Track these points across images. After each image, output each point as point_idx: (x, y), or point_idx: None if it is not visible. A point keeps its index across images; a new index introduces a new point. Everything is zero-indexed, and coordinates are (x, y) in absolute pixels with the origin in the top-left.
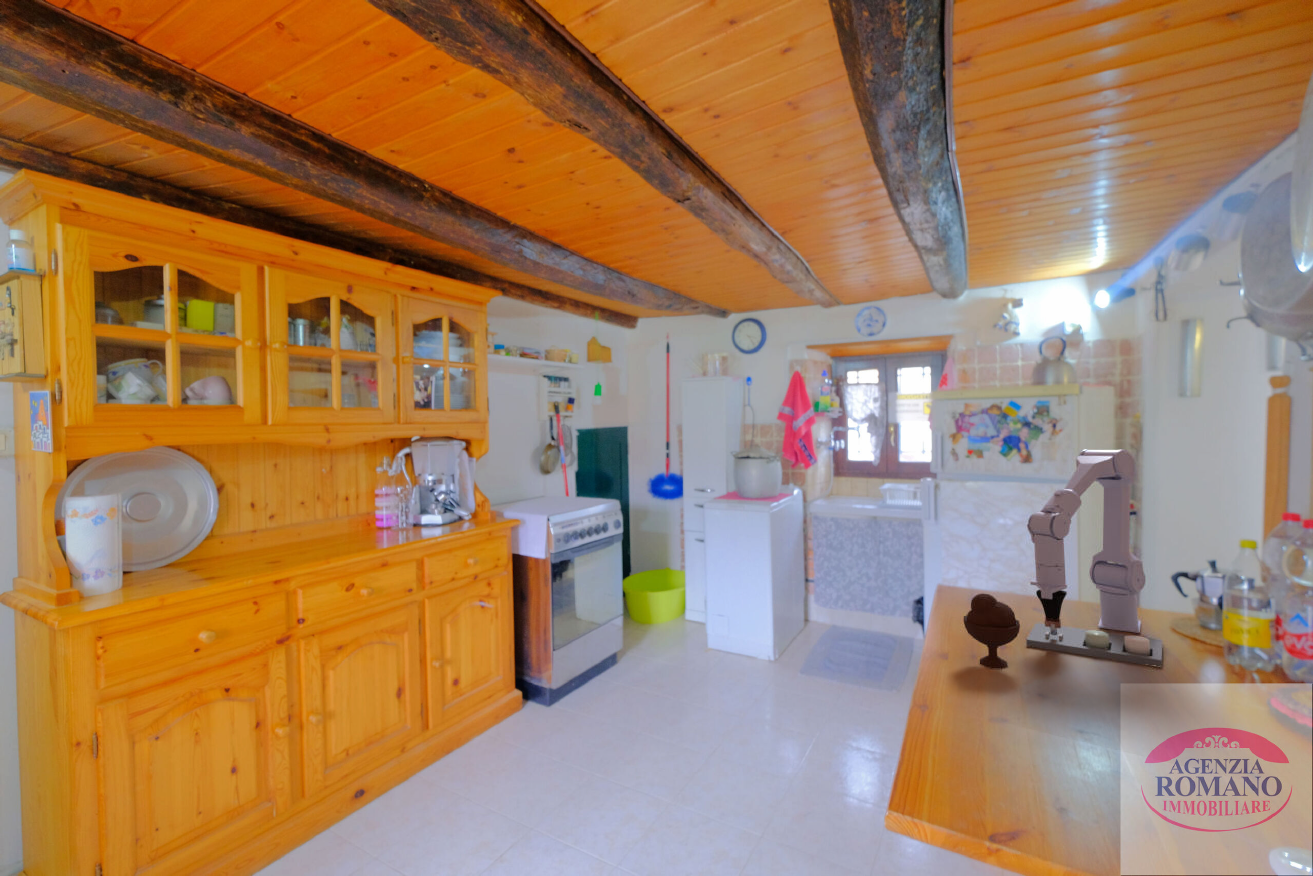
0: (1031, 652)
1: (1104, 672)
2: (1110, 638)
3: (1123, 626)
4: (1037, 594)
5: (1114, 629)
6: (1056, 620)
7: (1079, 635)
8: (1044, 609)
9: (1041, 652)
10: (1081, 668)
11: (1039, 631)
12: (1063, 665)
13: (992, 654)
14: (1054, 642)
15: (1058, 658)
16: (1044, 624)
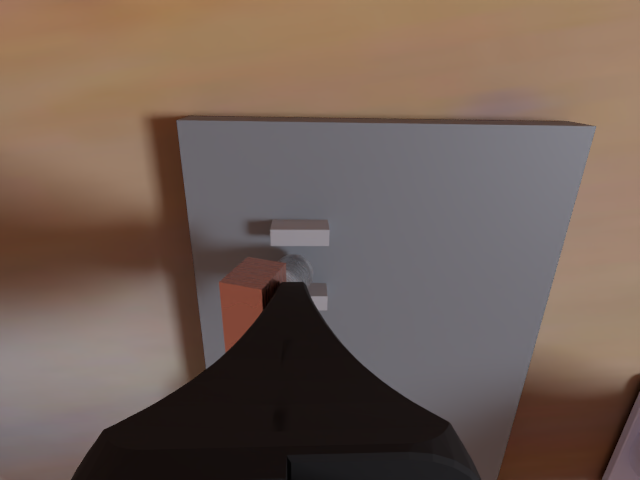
0: (92, 155)
1: (51, 426)
2: None
3: (637, 464)
4: (81, 469)
5: (626, 425)
6: None
7: (408, 353)
8: (244, 337)
9: (129, 201)
10: (31, 364)
11: (396, 171)
12: (10, 306)
13: None
14: (218, 268)
15: (94, 279)
16: (563, 180)
